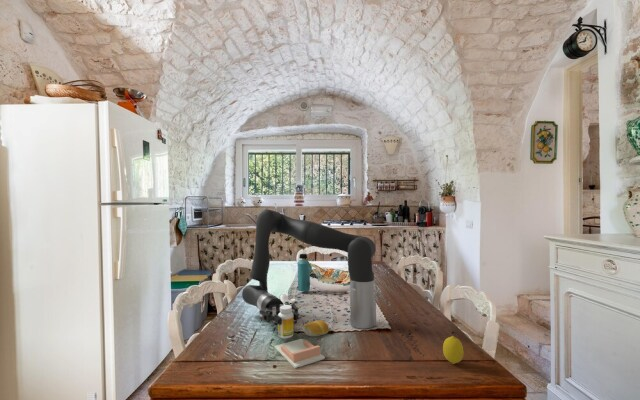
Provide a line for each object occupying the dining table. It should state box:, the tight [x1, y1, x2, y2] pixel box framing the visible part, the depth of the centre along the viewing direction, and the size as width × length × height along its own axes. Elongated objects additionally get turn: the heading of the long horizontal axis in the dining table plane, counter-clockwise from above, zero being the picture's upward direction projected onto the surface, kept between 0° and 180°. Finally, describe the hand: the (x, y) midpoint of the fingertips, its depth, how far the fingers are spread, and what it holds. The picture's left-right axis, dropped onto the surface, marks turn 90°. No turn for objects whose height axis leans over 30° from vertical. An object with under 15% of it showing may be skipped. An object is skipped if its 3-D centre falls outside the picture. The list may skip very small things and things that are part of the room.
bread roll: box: [303, 320, 330, 337], centre depth 115 cm, size 8×9×4 cm
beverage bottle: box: [296, 253, 311, 292], centre depth 164 cm, size 6×7×20 cm
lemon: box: [442, 335, 465, 365], centre depth 92 cm, size 6×6×8 cm
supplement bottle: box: [277, 304, 295, 339], centre depth 107 cm, size 5×5×10 cm
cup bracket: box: [274, 338, 326, 369], centre depth 99 cm, size 15×10×3 cm, turn 31°
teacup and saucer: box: [278, 293, 297, 304], centre depth 148 cm, size 9×8×4 cm
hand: (289, 319), depth 105 cm, fingers closed on supplement bottle, 5 cm apart
